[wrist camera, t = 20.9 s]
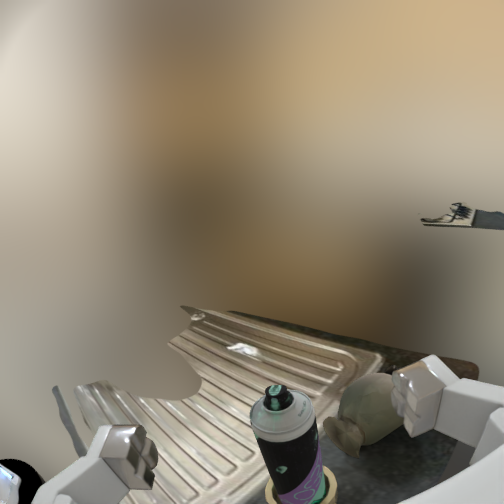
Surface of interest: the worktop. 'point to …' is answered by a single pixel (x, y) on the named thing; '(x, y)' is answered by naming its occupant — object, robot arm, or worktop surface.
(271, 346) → the worktop surface
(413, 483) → the worktop surface
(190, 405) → the worktop surface
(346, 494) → the worktop surface
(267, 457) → the spray can
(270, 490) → the beige base ring
